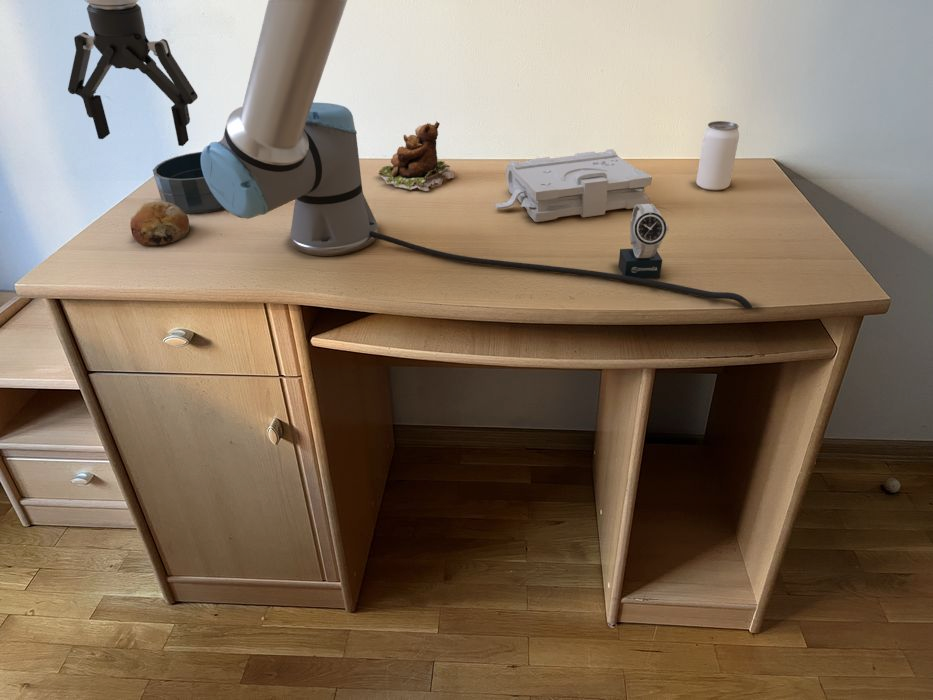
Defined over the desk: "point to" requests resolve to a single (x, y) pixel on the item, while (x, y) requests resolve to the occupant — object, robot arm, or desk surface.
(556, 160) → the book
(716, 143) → the can
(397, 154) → the bear figurine
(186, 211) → the dark blue bowl
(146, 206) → the bread roll
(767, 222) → the desk surface
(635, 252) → the watch
